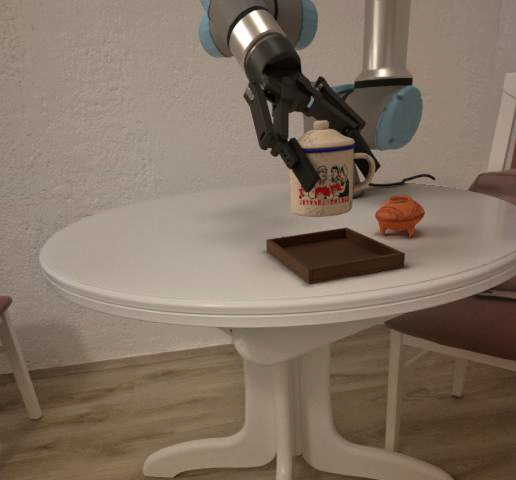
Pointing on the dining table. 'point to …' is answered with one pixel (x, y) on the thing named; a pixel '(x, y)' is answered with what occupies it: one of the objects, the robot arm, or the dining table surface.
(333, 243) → the shallow tray
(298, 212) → the teacup with lid
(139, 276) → the dining table surface
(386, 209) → the pot
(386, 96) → the robot arm
